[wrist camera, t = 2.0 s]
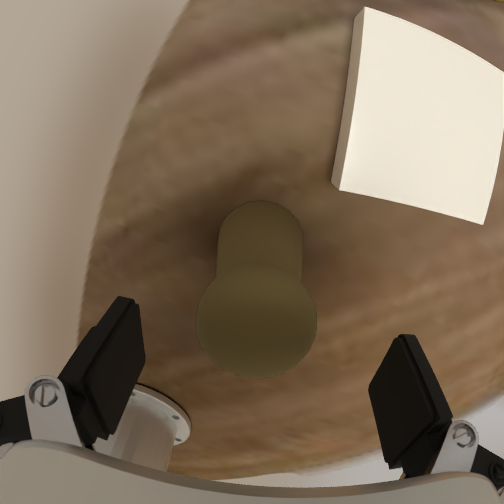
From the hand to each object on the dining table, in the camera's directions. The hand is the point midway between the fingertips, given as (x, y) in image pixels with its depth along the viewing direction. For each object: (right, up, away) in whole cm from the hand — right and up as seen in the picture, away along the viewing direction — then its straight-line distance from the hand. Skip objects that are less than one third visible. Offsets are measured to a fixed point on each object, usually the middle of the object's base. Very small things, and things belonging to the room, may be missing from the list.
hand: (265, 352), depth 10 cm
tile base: (+11, +13, +7) cm, 18 cm away
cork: (0, +4, +11) cm, 12 cm away
